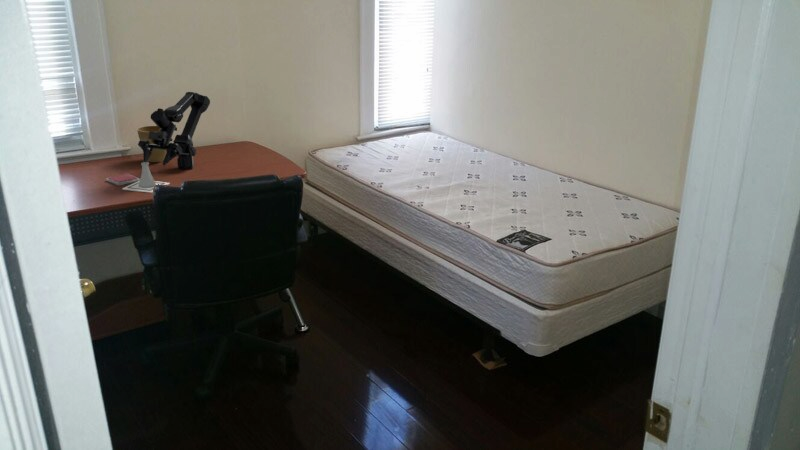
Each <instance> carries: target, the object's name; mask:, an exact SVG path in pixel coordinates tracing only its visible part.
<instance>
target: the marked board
mask: <svg viewBox="0 0 800 450" xmlns="http://www.w3.org/2000/svg"><path fill="white" fill-rule="evenodd" d="M154 181H155V183H156V185H158V184H159V185H167V186H169V185H170V184H171V183H170V182H165V181H158V180H157V181H156V180H154ZM121 188H122V191H132V192H140V193H148V194H149V193H150V194H152V193H154V192H153V189H154V186H152V187H140V186H139V181H138V182H133V183H130V184H128V185H127V186H124V187H121Z"/></svg>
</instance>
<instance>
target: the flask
mask: <svg viewBox="0 0 800 450" xmlns="http://www.w3.org/2000/svg"><path fill="white" fill-rule="evenodd" d="M140 165H141V175H140V178H139V179H140V181H139V186H140V187H152V186H155V185H156V183H155V181H156V180H155V179H154V177H153V175H152V172H151V170H150V168H149V167H150V166H149V165H150V162H149V161H147V162H144V161H143V162H140Z"/></svg>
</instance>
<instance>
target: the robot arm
mask: <svg viewBox="0 0 800 450" xmlns="http://www.w3.org/2000/svg"><path fill="white" fill-rule="evenodd" d="M210 105H211V100H210V98H209V97H208V96H207V95H203V94H199V93H198V92H196V91H195V92H194V91H187V92H185V94H184V95H183V97H181V98H180V99H179V100H178V101H177V102H176V103H175V105H174V104H173V105H171V106H169V107H166V108H165V109H163V108H159V107H158V108H157V109H156V110H155V111H153V112H152V113H151V114H150V120H151V121H152V122H153V123H154V124H155V126H158V127H159V128H160V130H159V132H150V131H149V135H148V139H152V142H153V143H154V144H151V143H150V142H149V141H147V140H140V139H139V141H138V143H137V146H138V147H139V148H140V149H141V150H142V155H143V162H149V161H148V159H149V157H150V155H151V154H152V152H151V151H152V150H153V149H162V150H167V152H166V156H165V158H164V161H162V166H166V164H168V163H170V161H172V160H173V159H174V158H176V157H177V160H176V161H177V162H176V163H177V167H178V170H193V168H194V167H195V163H194V157H195V156H196V154H197V149H196V148H195V147H194V142H193V136H194V134H195V131H196V129H197V126H198V124H199V121H200V119H201V116H202V114H204V113H205V112H206V111H207V110H208V108H209V106H210ZM189 107H190V108H191V110H190V113H189V114H188V118H187V120H186V122H185V124H184V127H183V130H182V132H181V134H176V135H175V137H174V140H173V138H172V137H173V135H174V132H175V131H176V132H177V131H178V127H177V125H176V124H175V123H180V122H181V121H182V120H183V118H184V113H185V112H186V111H187V109H188V108H189Z"/></svg>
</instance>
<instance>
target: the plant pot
mask: <svg viewBox="0 0 800 450" xmlns="http://www.w3.org/2000/svg"><path fill="white" fill-rule="evenodd" d="M159 130H160V128H159V127H158V126H157V125H148V126H147V125H146V126H140V127H138V128H137V129H136V131H137V135H138V139H139V141H140V140H147V141H149V142H150V143H151V144H154V143H153V142H152V139H148V135H149V131H150V132H159ZM151 152H152V154H151V155H150V157H149V159H148V161H147V162H148V163H161V162H162V163H163V161H164V158H165V156H166V153H167V150H162V149H153V150H152V151H151Z"/></svg>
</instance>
